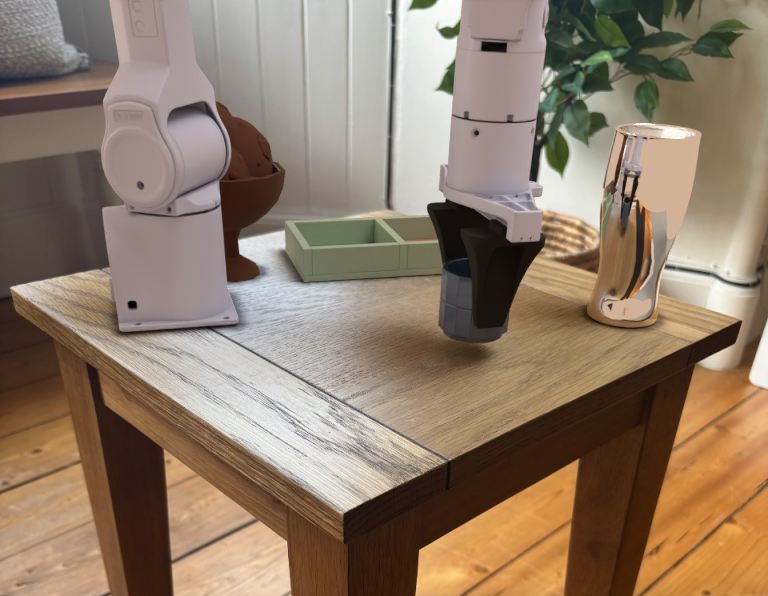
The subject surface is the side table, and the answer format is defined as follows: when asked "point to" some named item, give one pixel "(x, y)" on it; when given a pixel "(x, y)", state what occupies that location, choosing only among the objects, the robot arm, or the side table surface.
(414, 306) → the side table surface
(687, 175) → the beer glass
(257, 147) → the ice cream bowl
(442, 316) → the handleless cup
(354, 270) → the tray
